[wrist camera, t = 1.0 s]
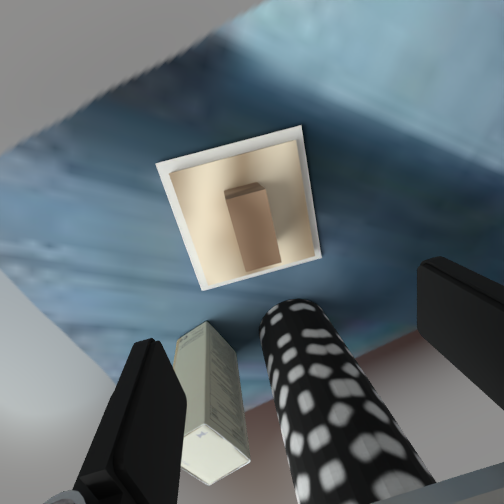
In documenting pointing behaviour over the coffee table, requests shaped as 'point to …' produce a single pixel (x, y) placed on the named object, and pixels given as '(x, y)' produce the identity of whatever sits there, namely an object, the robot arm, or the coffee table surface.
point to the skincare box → (211, 405)
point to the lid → (246, 211)
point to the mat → (229, 151)
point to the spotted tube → (332, 414)
